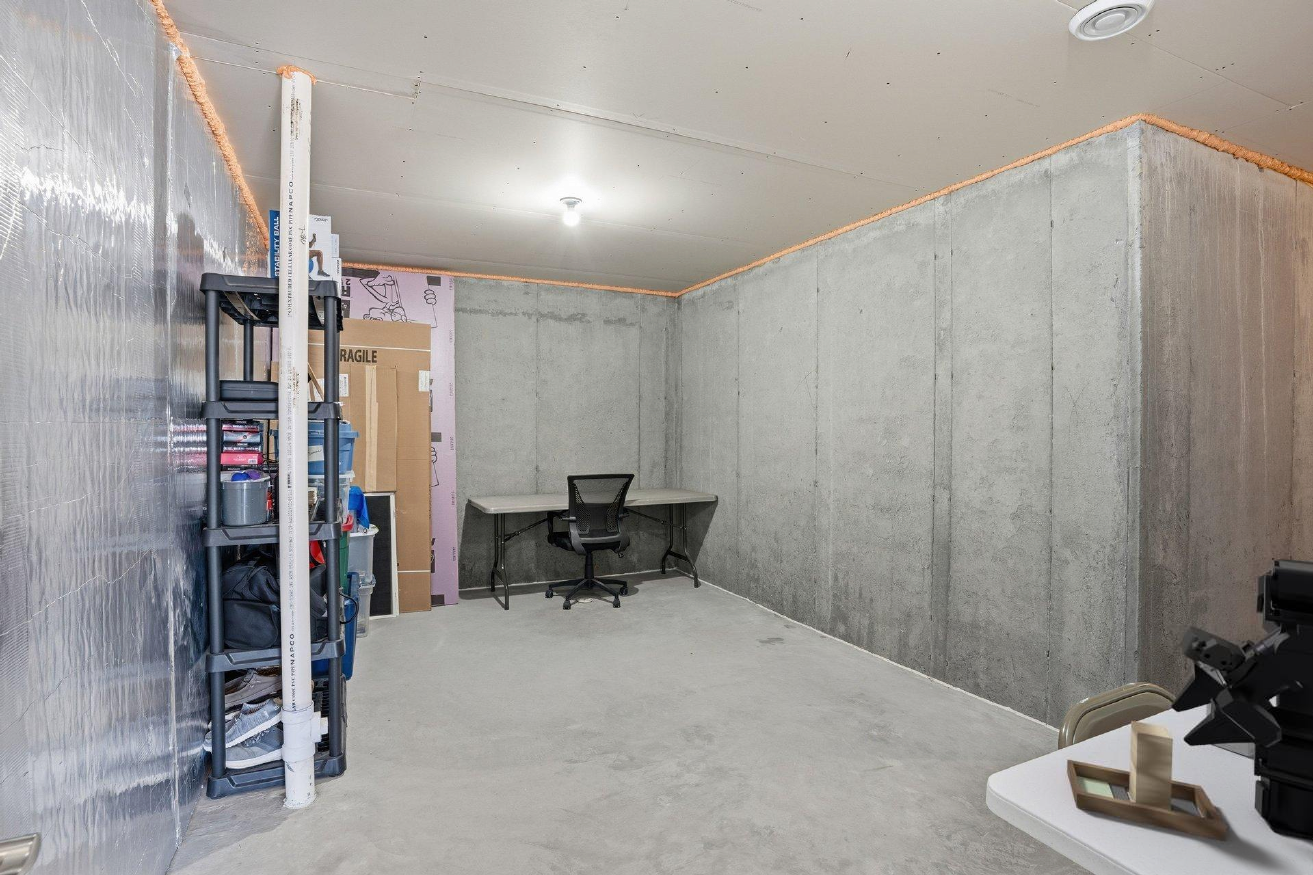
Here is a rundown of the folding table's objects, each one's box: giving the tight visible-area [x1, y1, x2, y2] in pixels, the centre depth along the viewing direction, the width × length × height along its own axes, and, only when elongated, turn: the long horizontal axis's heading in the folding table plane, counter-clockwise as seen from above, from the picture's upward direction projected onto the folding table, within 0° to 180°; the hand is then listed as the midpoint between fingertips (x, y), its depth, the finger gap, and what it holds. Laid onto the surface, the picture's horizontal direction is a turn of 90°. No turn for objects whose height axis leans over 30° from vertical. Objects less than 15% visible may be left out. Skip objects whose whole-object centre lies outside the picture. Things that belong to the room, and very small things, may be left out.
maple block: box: [1128, 720, 1174, 811], centre depth 93 cm, size 4×4×11 cm
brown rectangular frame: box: [1066, 759, 1227, 842], centre depth 94 cm, size 16×10×2 cm, turn 64°
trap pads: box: [1109, 783, 1202, 817], centre depth 93 cm, size 10×8×1 cm
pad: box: [1077, 776, 1115, 798], centre depth 96 cm, size 4×8×1 cm, turn 154°
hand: (1179, 725), depth 92 cm, fingers open, 9 cm apart
